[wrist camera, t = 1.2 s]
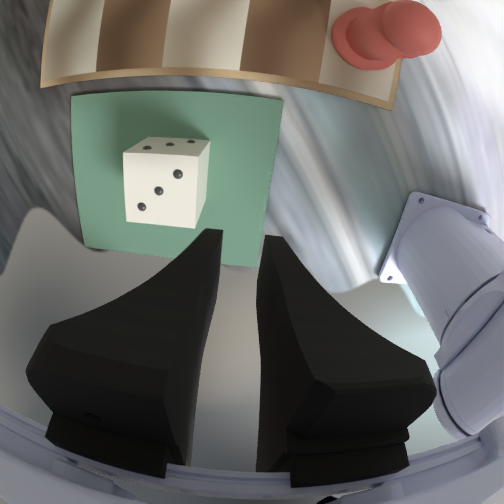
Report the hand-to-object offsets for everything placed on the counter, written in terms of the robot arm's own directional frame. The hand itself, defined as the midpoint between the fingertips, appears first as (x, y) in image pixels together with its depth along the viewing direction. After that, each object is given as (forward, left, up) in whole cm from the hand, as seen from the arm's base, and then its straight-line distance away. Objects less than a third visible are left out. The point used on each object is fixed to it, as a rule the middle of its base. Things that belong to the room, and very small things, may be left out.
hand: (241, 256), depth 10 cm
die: (+5, 0, -9) cm, 10 cm away
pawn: (-5, -10, -9) cm, 14 cm away
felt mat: (+6, +1, -9) cm, 11 cm away
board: (+4, -10, -9) cm, 14 cm away
